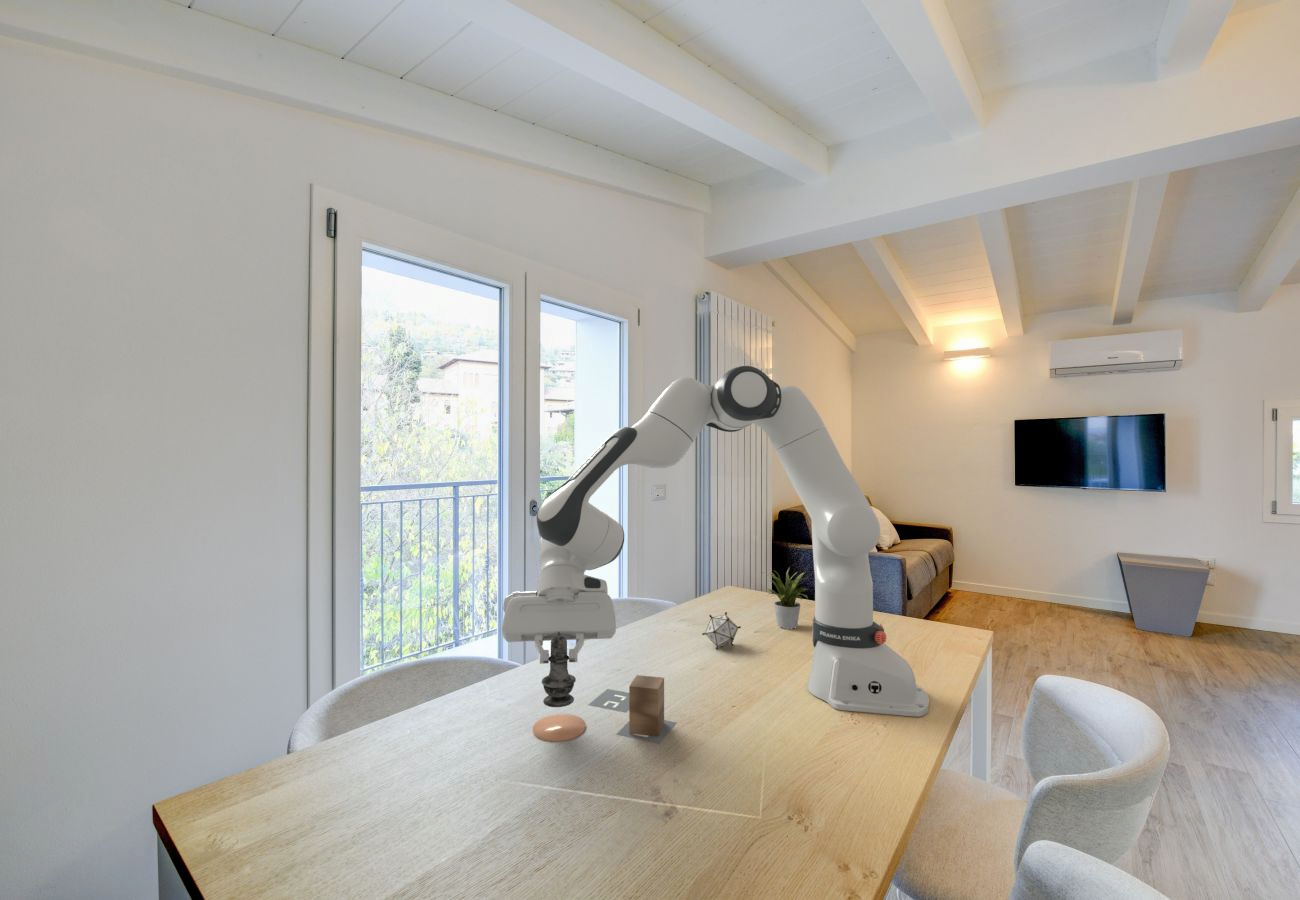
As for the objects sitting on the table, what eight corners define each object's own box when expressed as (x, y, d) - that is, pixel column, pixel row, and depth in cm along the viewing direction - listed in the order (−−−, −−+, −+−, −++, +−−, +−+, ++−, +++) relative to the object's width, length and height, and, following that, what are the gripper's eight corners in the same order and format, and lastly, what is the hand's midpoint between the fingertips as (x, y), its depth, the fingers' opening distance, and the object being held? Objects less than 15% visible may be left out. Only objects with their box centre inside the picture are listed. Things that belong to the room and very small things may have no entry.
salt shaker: (582, 697, 101) (582, 629, 101) (563, 710, 96) (563, 638, 96) (554, 690, 104) (554, 624, 104) (534, 703, 98) (534, 633, 98)
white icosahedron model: (728, 663, 141) (744, 638, 135) (696, 651, 141) (710, 625, 135) (731, 635, 148) (746, 610, 143) (700, 623, 148) (714, 598, 143)
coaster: (594, 722, 102) (594, 719, 102) (568, 746, 94) (568, 743, 94) (551, 713, 105) (551, 710, 105) (522, 736, 97) (522, 732, 97)
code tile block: (676, 723, 102) (676, 722, 102) (659, 744, 94) (659, 743, 94) (635, 715, 105) (635, 714, 105) (616, 735, 97) (616, 734, 97)
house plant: (756, 633, 152) (756, 571, 152) (756, 618, 166) (755, 561, 166) (812, 636, 150) (812, 573, 150) (807, 620, 163) (806, 563, 163)
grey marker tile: (643, 696, 113) (643, 695, 113) (625, 713, 106) (625, 712, 106) (607, 689, 116) (607, 688, 116) (587, 705, 109) (587, 704, 109)
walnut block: (664, 722, 101) (664, 677, 101) (658, 736, 97) (658, 688, 97) (636, 719, 103) (636, 675, 103) (629, 733, 98) (629, 686, 98)
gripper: (503, 583, 105) (495, 655, 96) (614, 580, 108) (617, 650, 98) (506, 601, 110) (498, 672, 100) (613, 598, 112) (616, 667, 102)
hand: (558, 661), depth 99 cm, fingers closed on salt shaker, 4 cm apart
